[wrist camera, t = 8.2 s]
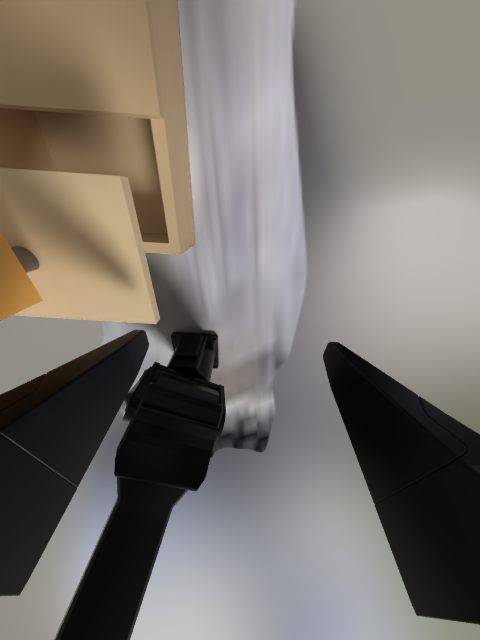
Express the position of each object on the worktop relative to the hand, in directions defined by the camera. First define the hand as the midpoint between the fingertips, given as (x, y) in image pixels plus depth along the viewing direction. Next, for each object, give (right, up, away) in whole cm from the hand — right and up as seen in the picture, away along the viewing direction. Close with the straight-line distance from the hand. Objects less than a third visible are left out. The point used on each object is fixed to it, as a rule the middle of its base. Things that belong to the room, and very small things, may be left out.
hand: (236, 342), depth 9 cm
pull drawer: (-11, +5, +1) cm, 12 cm away
